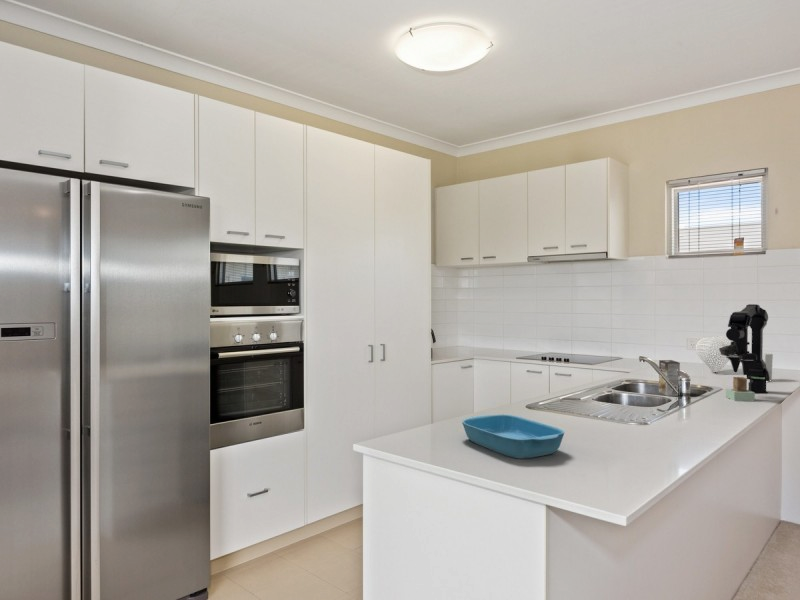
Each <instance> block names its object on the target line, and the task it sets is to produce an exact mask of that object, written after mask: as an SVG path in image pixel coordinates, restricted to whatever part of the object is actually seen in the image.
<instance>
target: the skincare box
mask: <svg viewBox="0 0 800 600" xmlns="http://www.w3.org/2000/svg"><path fill="white" fill-rule="evenodd" d="M762 359H763V361H764V362H765V364H766V369H767V370H768V373H769V381H770V380H771V381H772V377H773V359H774V357H773V354H772V353H769V352H768V353H767V352H762ZM756 378H761V377H756Z"/></svg>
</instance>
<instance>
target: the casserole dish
mask: <svg viewBox="0 0 800 600" xmlns="http://www.w3.org/2000/svg"><path fill="white" fill-rule="evenodd" d="M461 423H462V426H463V428H464V432H465V435H466V437H467V438H468V439H469V440H470V441H471V442H472V443H474V444H477V445H479V446H481V447H483V448H486V449H488V450H491V451H494V452H497V453H499V454H501V455H504V456H507V457H509V458H514V459H530V458H537V457H541V456H542V457H543V456H548V455H551V454H554V453H555V452H557V451H558V450H559V448H560V447H561V444H562V441H563V439H564V434H565V431H564V430H563V429H562V428H558V427H556V426H551V425H548V424H545V423H542V422H539V421H535V420H532V419H528V418H525V417H521V416H519V415H513V414H481V415H474V416H471V417H467V418H465V419H462V420H461Z"/></svg>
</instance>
